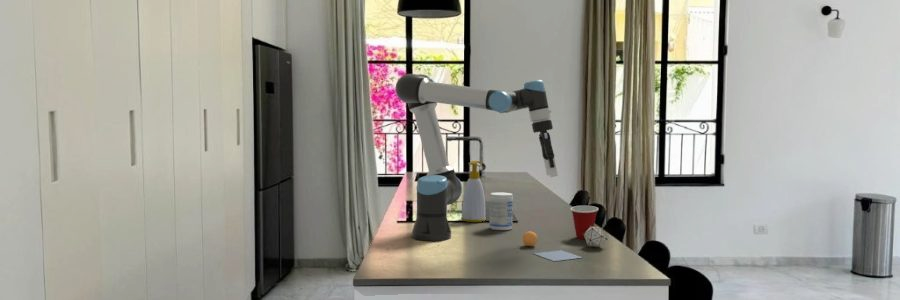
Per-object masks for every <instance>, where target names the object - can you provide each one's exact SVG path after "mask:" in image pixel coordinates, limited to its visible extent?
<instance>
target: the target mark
mask: <svg viewBox="0 0 900 300" xmlns="http://www.w3.org/2000/svg"><path fill="white" fill-rule="evenodd" d="M532 254H533V255H535V256H537V257H541V258H543V259H546V260H548V261H551V262H563V261H569V260H570V259H571V260H577V258H579V259H583V257H582V256H579V255H576V254H573V253H571V252H567V251H564V250H552V251H543V252H534V253H532Z"/></svg>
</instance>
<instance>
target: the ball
mask: <svg viewBox="0 0 900 300" xmlns="http://www.w3.org/2000/svg"><path fill="white" fill-rule="evenodd" d="M522 242H523V244H524V245H525V246H527V247H533V246H535V245H536V244H537V242H538V235H537V234H536V232H534V231H532V230H531V231H526V232H525V233H524V234H523V235H522Z"/></svg>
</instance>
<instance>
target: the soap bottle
mask: <svg viewBox="0 0 900 300" xmlns="http://www.w3.org/2000/svg"><path fill="white" fill-rule="evenodd" d="M478 164H480V165H482V164H483V162H482V161H481V160H472V161H470V162H469V163H468V165H471V168H472V169H471V171H469V178H468V179H467V181H466V184H465V186H464V191H463V199H462V206H461V217H460V220H461V221H463V222H465V221H466V222H467V223H483V222H486V221H487V218H486V199H485V198H486V197H485V192H484V187H483V183H482V181H481V178H480V171H479V170H478V169H477V168H478ZM485 220H486V221H485ZM482 221H483V222H482Z"/></svg>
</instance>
